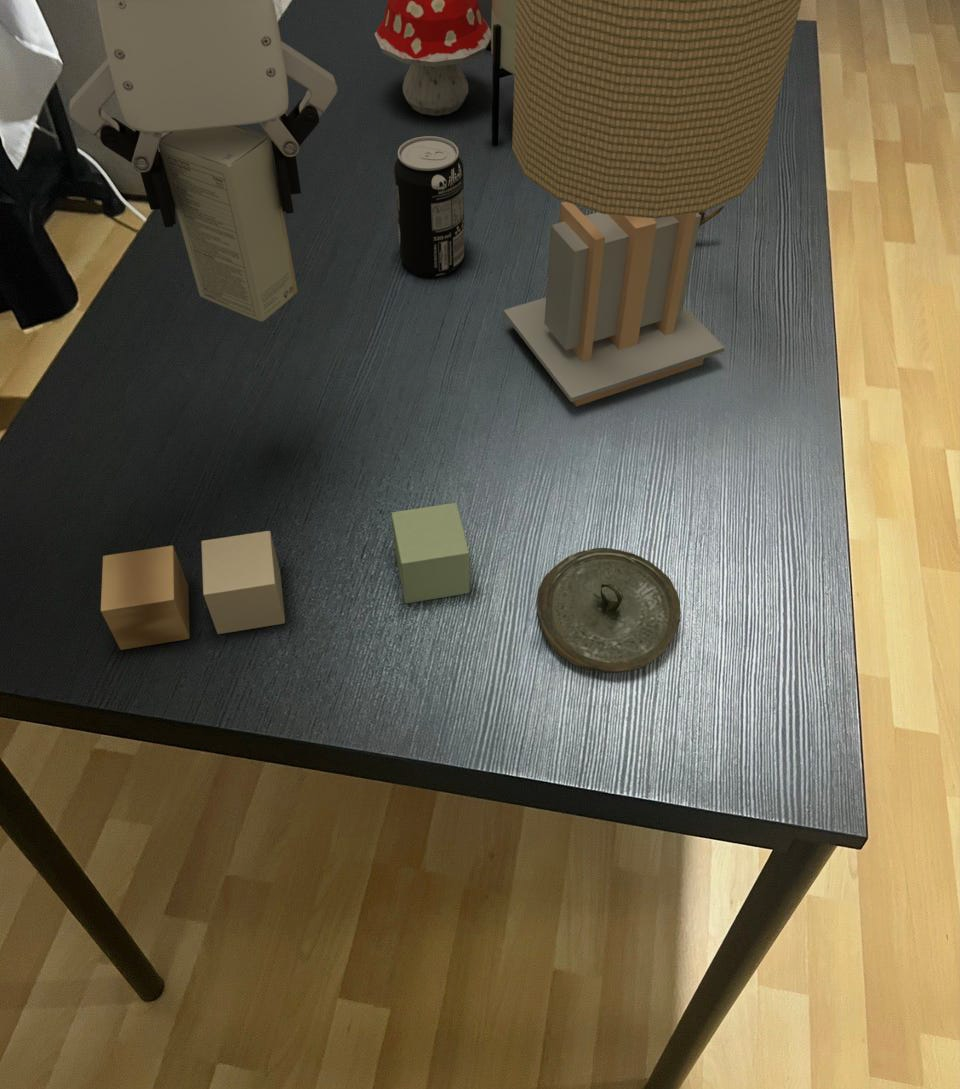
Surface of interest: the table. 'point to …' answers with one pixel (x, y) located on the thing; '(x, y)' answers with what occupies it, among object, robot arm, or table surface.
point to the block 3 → (431, 552)
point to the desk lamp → (636, 169)
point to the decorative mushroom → (434, 49)
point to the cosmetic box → (231, 217)
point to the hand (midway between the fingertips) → (228, 207)
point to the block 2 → (242, 582)
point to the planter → (501, 52)
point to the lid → (608, 610)
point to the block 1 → (145, 597)
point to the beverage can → (430, 205)
